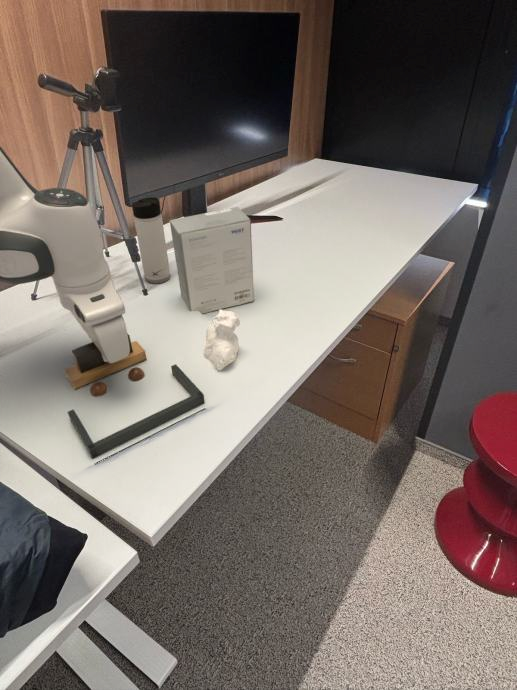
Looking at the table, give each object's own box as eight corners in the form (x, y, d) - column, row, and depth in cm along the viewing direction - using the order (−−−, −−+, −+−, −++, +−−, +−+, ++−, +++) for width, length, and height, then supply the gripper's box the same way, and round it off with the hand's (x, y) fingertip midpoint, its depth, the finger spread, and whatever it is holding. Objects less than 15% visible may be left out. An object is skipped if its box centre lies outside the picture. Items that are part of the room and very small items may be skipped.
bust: (230, 385, 91) (265, 342, 87) (197, 373, 87) (231, 327, 83) (218, 348, 100) (248, 307, 96) (187, 335, 96) (217, 291, 92)
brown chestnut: (85, 382, 85) (88, 393, 87) (92, 394, 83) (95, 404, 85) (102, 376, 86) (104, 386, 88) (109, 386, 84) (111, 397, 86)
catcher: (94, 464, 74) (89, 450, 72) (72, 426, 81) (67, 411, 79) (205, 409, 83) (203, 394, 81) (178, 378, 90) (175, 363, 88)
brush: (76, 394, 86) (66, 363, 82) (69, 382, 89) (58, 351, 84) (147, 363, 93) (141, 333, 88) (138, 353, 95) (132, 323, 91)
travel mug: (161, 286, 116) (148, 207, 104) (139, 280, 119) (124, 201, 106) (176, 275, 120) (166, 197, 108) (155, 269, 123) (143, 192, 111)
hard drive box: (242, 286, 116) (239, 206, 103) (255, 301, 110) (252, 219, 98) (180, 300, 111) (168, 218, 99) (189, 317, 105) (178, 233, 93)
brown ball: (124, 368, 87) (125, 376, 90) (132, 381, 86) (132, 389, 88) (139, 361, 89) (139, 370, 91) (147, 374, 87) (147, 382, 90)
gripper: (47, 270, 85) (67, 333, 93) (89, 323, 71) (109, 391, 80) (82, 259, 87) (99, 321, 96) (129, 309, 74) (143, 376, 83)
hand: (103, 353), depth 88 cm, fingers closed on brush, 2 cm apart
